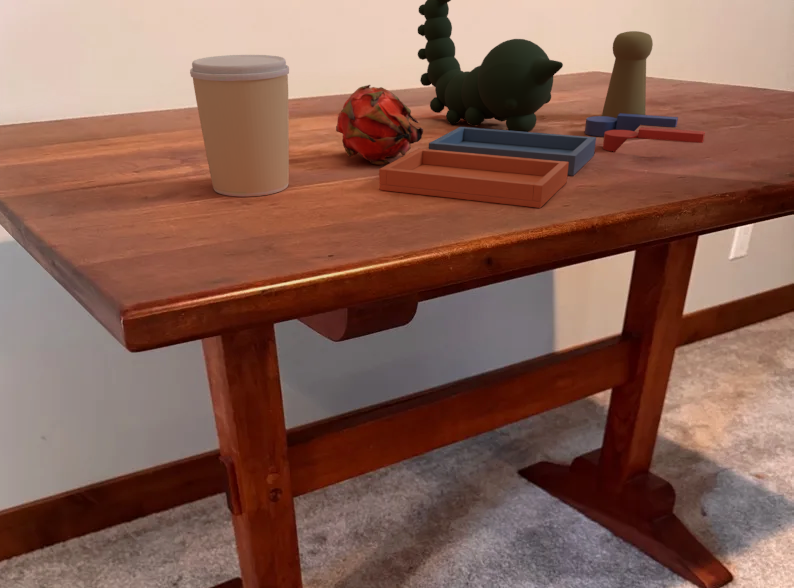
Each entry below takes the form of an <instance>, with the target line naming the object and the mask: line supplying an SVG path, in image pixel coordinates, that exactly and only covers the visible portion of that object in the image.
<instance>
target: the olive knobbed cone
mask: <svg viewBox="0 0 794 588" xmlns="http://www.w3.org/2000/svg"><path fill="white" fill-rule="evenodd" d="M653 44H654V43H653V38H652V36H651V35H650V34H649V33H647V32H643V31H639V30H637V31H636V30H632V31H631V30H630V31H624V32H620V33H618V34H617V35H616V36H615V37H614V40H613V42H612V54H613V57H614V58H615V59H614V63H613V66H612V67H613V68H612V72H611V75H610V80H609V83H608V88H607V92H606V95H605V100H604V104H603V109H602V112H601V116H606V117H613V118H616V119H617V116H618V115H619V114H620V113H622V114H637V115H646V106H647V105H646V103H647V102H646V99H647V98H646V97H647V95H646V93H647V92H646V91H647V59H648V58H649V56H651V53H652V50H653V46H654V45H653Z"/></svg>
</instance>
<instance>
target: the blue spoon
mask: <svg viewBox="0 0 794 588" xmlns="http://www.w3.org/2000/svg"><path fill="white" fill-rule="evenodd" d="M678 122H679V117H678V116H668V115H667V116H666V115H652V114H645V115H637V114H622V113H620V114H619V115H618V116H617V119H616V118H613V117H606V116H602V115H595V116H588V117H586V118H585V125H584V134H585V135H587V136H590V137H599V138H601V137H603V138H604V133H605V132H606V131H609V130H629V131H635V132H636V131H637V130H638V129H639V127H640V126H649V127H651V126H652V127H666V128H676V127H677V126H678Z"/></svg>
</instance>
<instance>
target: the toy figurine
mask: <svg viewBox="0 0 794 588" xmlns="http://www.w3.org/2000/svg"><path fill="white" fill-rule="evenodd" d="M451 1H452V0H426V1H425V2H424V3H423V4H421V5H419V7H418V13H419V14H420V15H421V16H424V17H423V18H424V19H425V21H424V23H421V24H420V25H418V27H417V35H420V36H421V37H424V38H425V40H426V41H427V42H426V43H425V47H423V48H420V49H419V50H418V51H417V57H418V59H419V60H426V61H427V63H428V65H427V69H426V72H424V73H422V74H421V76H420V79H419V81H420V83H421V85H422V86H425V87H429V86H432V87H434V88H435V90H434V91H435V96H434V97H433V98H432V99H431V100H430V101H429V107H430V111H432V112H434V113H435V114H440V113H442V111H443V110H444V109H445V108H447V111H446V114H445V119H446V121H447V122H448V123H449V124H450V125H456V124H458V123H460V121H461V120H463V121H466V123H467V124H468V125H470V126H473V127H477V126H480V125H481V124H482V123H483V122H484V121H485V120H492V119H494V120H496V121H498V122H505V126H506V128H507V130H508V131H521V132H532V131H533V129H534V128H535V126H536V125H537V120H538V119H537V116H536V112H538V111H539V110H540V109H541V108H542V107H543V106H544V105H547V104H548V103H549V102H550V101H551V100H552V94H551V93H552V89H553V85H554V76H555V75H556V74H557V73H558V72H559V71H560V70H561V69H562V68H563V67H564V64H563V62H562V61H558V60H555V59H550V58H549V56H548V54H547V53H546V52H545V50H544V49H543V48H542V47H540V46H539V45H538V44H537V43H534V42H533V41H531V40H527V39H524V38H512V39H511V38H510V39H508V40H505V41H503V42H500V43H499V44H497V45H496V46H494V47H493V48H491V49H490V51H489V52H488V53H487V54H486V55H485V57H484V58H483V60H482V62H481V64H480V65H478V66H475V67H474V68H473V69H472V70H470V71H463V70H462V68H461V65H460V62H459V61H458V59H457V58H456V57H455V56H456V46H455V42H454V41H453V39H452V38H451V36H452V33H453V32H452V31H453V25H452V21H451V20H450V18H449V17H448V15H449V13H450V12H449V9H450V8H449V4H448V3H449V2H451Z"/></svg>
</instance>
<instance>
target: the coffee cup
mask: <svg viewBox="0 0 794 588" xmlns="http://www.w3.org/2000/svg"><path fill="white" fill-rule="evenodd" d="M191 62H192V63H191V67H192V68H190V69H189V74H190V77H191V78H192V83H193V89H194V94H195V100H196V106H197V111H198V117H199V123H200V128H201V134H202V139H203V143H204V149H205V154H206V160H207V165H208V171H209V175H210V179H211V184H212V189H213V190H214V192H215V193H218V194H220V195H223V196H229V197H243V198H244V197H261V196H268V195H272V194H277V193H280V192H282V191H284V190H286V189H287V188H288V187H289V184H290V183H289V182H290V181H289V180H290V179H289V178H290V138H289V137H290V135H289V134H290V128H289V127H290V126H289V125H290V124H289V123H290V121H289V76H288V74H290V67H289V66H288V65H287V61H286V59H285V57H283V56H279V55H267V54H229V55H228V54H227V55H216V56H206V57H202V58H196V59H194V60H193V61H191Z"/></svg>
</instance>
